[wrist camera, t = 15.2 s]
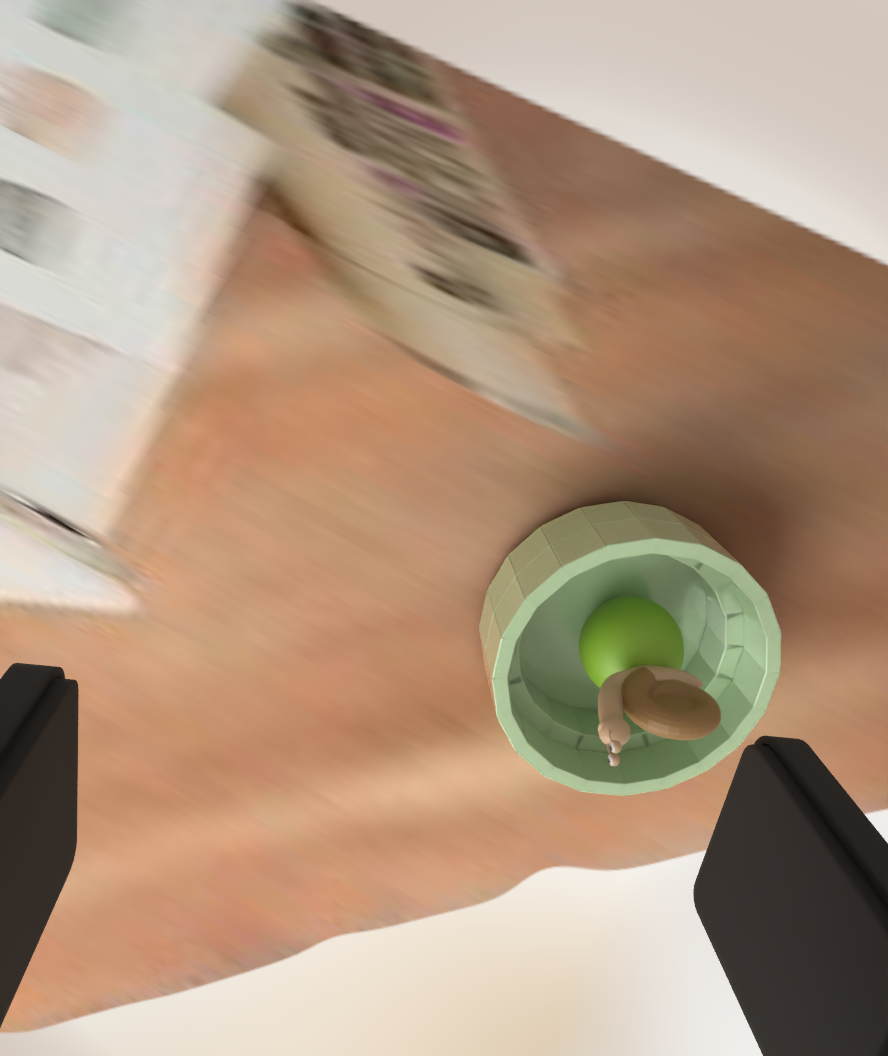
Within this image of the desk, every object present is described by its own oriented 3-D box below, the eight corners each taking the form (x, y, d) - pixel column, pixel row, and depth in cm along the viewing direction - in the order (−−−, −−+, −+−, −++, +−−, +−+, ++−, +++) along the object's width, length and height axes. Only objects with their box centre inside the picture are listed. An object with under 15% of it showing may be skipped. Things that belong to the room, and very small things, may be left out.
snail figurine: (555, 579, 44) (616, 701, 33) (670, 579, 45) (768, 700, 33) (547, 666, 46) (602, 809, 35) (657, 665, 47) (746, 806, 35)
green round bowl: (508, 479, 42) (528, 519, 37) (765, 518, 44) (822, 561, 39) (457, 714, 47) (468, 780, 42) (691, 740, 49) (731, 807, 44)
